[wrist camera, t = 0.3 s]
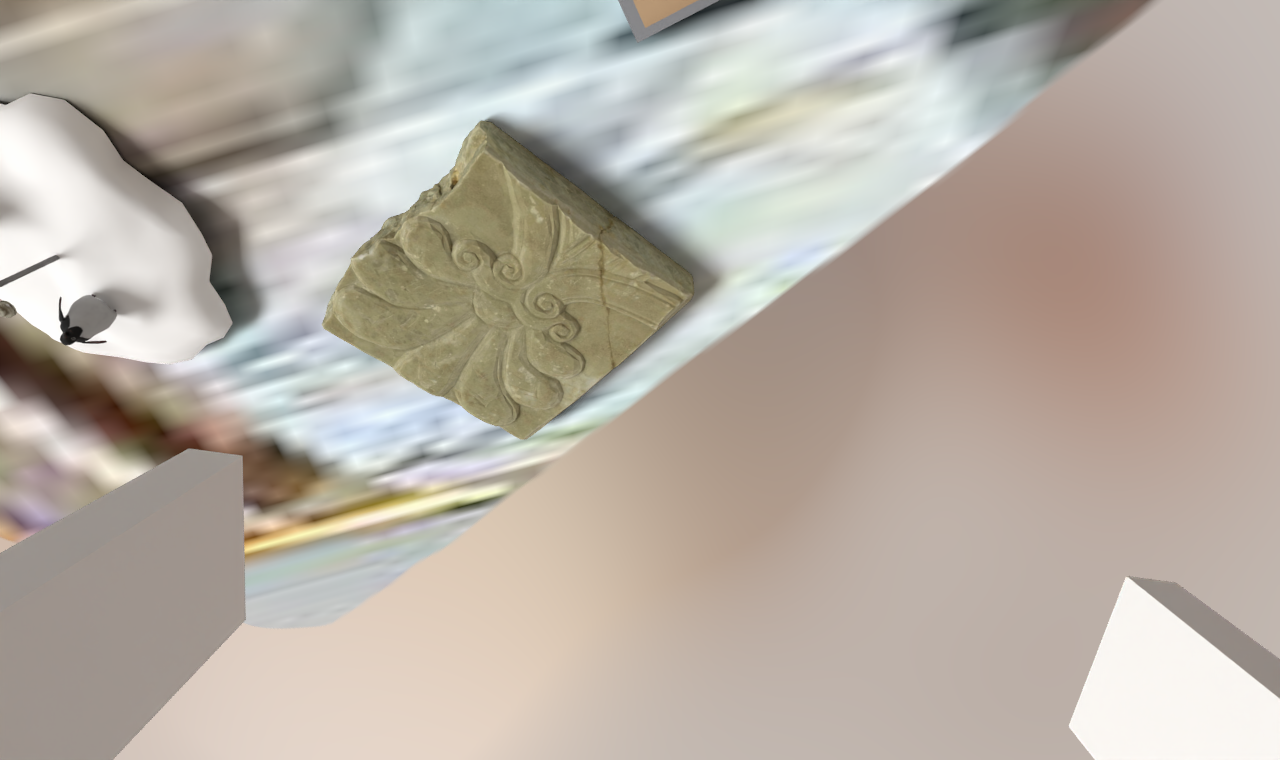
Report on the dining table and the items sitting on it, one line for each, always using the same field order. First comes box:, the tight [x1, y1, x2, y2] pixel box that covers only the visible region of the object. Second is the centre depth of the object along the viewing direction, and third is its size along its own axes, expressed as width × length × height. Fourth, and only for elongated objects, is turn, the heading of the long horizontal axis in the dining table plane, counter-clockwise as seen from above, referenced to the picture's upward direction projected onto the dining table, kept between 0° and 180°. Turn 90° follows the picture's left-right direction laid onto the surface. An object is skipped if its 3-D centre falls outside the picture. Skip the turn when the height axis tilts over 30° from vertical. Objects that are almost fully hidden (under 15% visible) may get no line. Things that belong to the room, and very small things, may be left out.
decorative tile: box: [322, 121, 694, 439], centre depth 46 cm, size 19×20×4 cm
